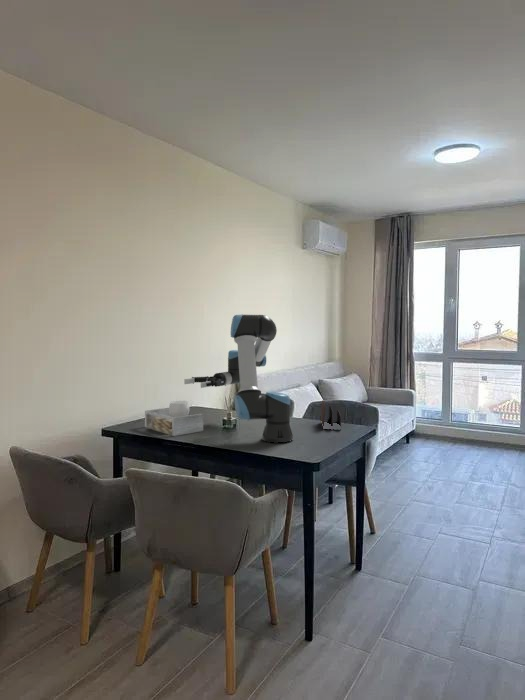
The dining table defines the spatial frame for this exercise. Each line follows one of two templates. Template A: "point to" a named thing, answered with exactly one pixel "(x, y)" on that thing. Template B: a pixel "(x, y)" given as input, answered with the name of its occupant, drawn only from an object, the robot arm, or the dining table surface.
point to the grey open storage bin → (175, 421)
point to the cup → (179, 408)
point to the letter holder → (330, 415)
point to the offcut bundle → (162, 424)
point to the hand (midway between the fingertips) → (192, 383)
